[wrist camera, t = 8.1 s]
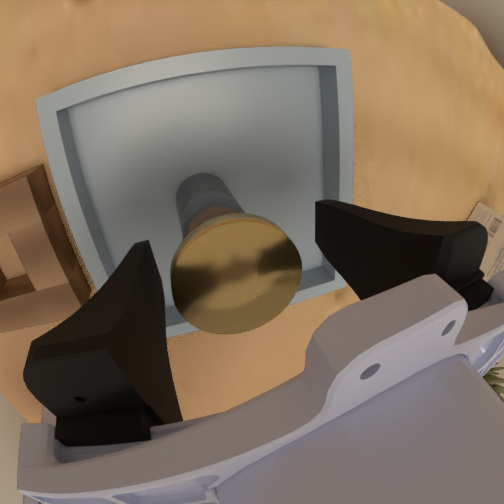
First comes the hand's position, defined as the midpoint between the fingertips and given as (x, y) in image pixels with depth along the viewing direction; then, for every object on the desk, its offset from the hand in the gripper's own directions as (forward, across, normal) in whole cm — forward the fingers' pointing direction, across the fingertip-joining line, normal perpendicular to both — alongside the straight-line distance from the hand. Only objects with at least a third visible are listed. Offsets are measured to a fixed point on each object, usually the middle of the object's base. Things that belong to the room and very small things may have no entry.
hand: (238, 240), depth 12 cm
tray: (+6, 0, 0) cm, 6 cm away
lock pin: (+5, +1, 0) cm, 5 cm away
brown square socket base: (+6, +14, 0) cm, 15 cm away
